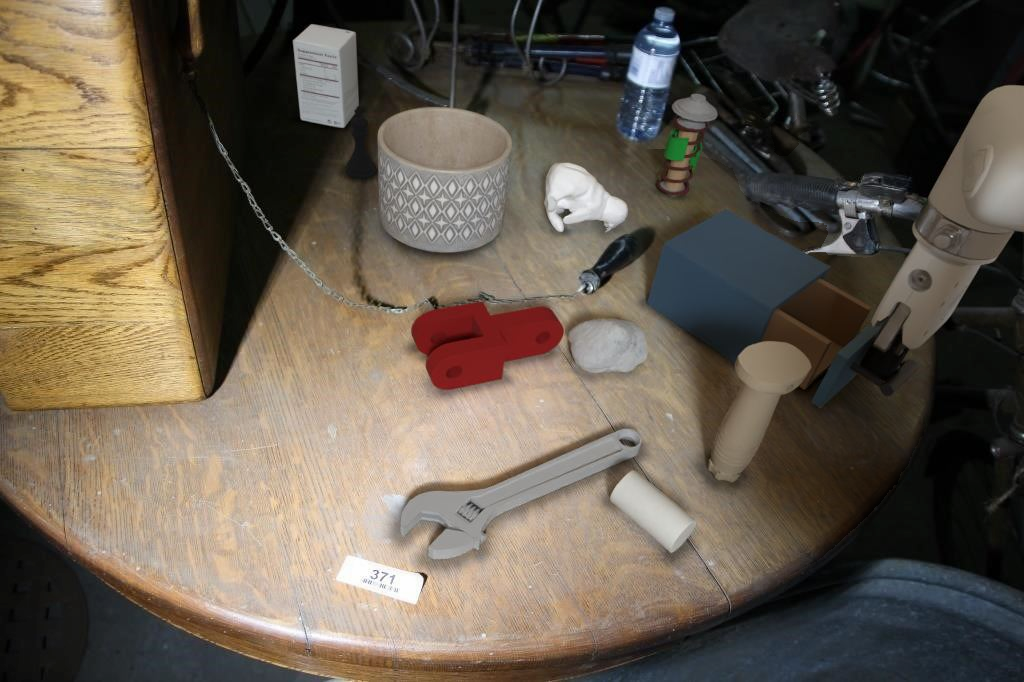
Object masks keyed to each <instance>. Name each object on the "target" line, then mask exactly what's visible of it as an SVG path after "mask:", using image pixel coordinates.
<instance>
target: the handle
mask: <svg viewBox="0 0 1024 682" xmlns="http://www.w3.org/2000/svg"><path fill="white" fill-rule="evenodd" d="M810 369H811V363H810V361H809V360H808V358H807V357H806V356H805V355H804V353H802V352H801V351H800V350H799V349H798V348H796V347H795V346H793V345H791V344H789V343H785V342H775V341H765V342H760V343H756V344H753V345H750V346H748V347H747V348H745V349H744V350H743V351H742V352H741V353H740V355H739V356H738V358H737V360H736V363H734V371H735V373H736V375H737V376H738V378H739V379H740V380H741V381H742V382H743V383H742V384H741V386H740V388H739V390H738V391H737V394H736V395H735V398H734V399H733V401H732V403H731V405H730V406H729V409H728V411H726V414H725V415H724V417H723V419H722V421H721V423H720V425H719V428H718V430H717V433H716V435H715V439H714V441H713V445H712V449H711V454H710V455H711V457H710V458H709V460H708V464H707V469H708V472H711V473H712V475H713V476H714V479H715V480H717V481H727V482H729V483H734V482H736V481H737V480H738V479H739V477H740V476H741V473H742V472H743V471H744V470H745V469H746V468H747V467H748V466H749V464H750V463H751V461H752V460H753V458H754V456H755V455H756V453H757V452H758V449H759V448H760V446H761V443H762V442H763V440H764V438H765V435H766V432H767V430H768V427H769V426H770V422H771V420H772V418H773V415H774V412H775V410H776V407H777V405H778V402H779V400H780V398H781V396H782V395H786V394H789V393H791V392H793V391H794V390H795V389H796V388H799V385H800V384H801V383H802V382H803V380H804V379H805V378H806V376H807V375H808V373H809V371H810Z"/></svg>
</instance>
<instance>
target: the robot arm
mask: <svg viewBox="0 0 1024 682" xmlns="http://www.w3.org/2000/svg"><path fill="white" fill-rule="evenodd" d="M911 231H912V234H913V236H914V237H915V239H916V241H915V243H914V245H913V247H912V249H911V250H910V252H909V253H908V255H907V256H906V257H905V259H904V261H903V262H902V265H901V266H900V267H899V270H898V271H897V273H896V274H895V276H894V278H893V279H892V281H891V283H890V285H889V286H888V288H887V290H886V292H885V293H884V295H883V297H882V298H881V300H880V302H879V305H878V306H877V307H876V310H875V312H874V314H873V316H872V318H871V321H870V323H872V326H873V328H876V327H879V326H880V325H881V324H882V323H883V322H884V323H883V324H882V326H881V328H880V330H879V332H878V334H877V336H876V337H875V338H874V340H873V342H872V343H871V345H870V347H869V349H868V350H867V352H866V354H865V355H864V357H863V359H862V361H861V362H860V366H861V367H863V368H864V369H866V370H868V371H869V372H871V373H873V374H874V375H876V376H877V377H879V378H881V379H882V380H884V382H885V381H886V380H887V379H888V378H889V377H890V376H891V375H892V374H893V373H894V372H895V371H896V370H897V369H898V368H899V367H900V366H899V365H900V364H901V362H902V361H903V359H904V360H905V357H906V356H907V355H908V353H909V351H910V350H916V349H919V348H920V347H921V346H923V345H924V344H925V343H926V342H927V341H928V340H929V339H930V338H931V337H932V336H933V335H934V334H935V333H937V331H939V329H940V328H942V326H943V325H944V324H946V322H947V321H948V320H949V318H950V317H951V316H952V315H953V314H954V312H955V310H956V308H957V306H958V305H959V303H960V301H961V300H962V298H963V296H964V294H966V291H967V290H968V288H969V286H970V285H971V283H972V281H973V280H974V278H975V276H976V274H977V273H978V271H979V269H980V268H981V266H984V265H989V264H991V263H993V262H995V261H996V260H997V259H998V257H999V255H1000V254H1001V252H1002V251H1003V250H1004V249H1005V246H1006V245H1007V243H1008V242H1009V240H1010V239H1011V237H1012V236H1013V234H1014V233H1015V232H1021V233H1024V85H1017V84H1008V85H1007V84H1006V85H1003V86H999V87H996V88H994V89H992V90H990V91H988V92H987V94H986V95H985V96H984V97H983V98H982V99H981V100H980V102H979V104H978V106H976V108H975V110H974V112H973V114H972V116H971V118H970V119H969V121H968V124H967V125H966V127H965V129H964V131H963V133H962V134H961V136H960V138H959V139H958V142H957V144H956V145H955V147H954V148H953V150H952V152H951V154H950V155H949V158H948V160H947V161H946V163H945V165H944V167H943V169H942V171H941V172H940V174H939V176H938V178H937V180H936V181H935V183H934V185H933V187H932V189H931V190H930V193H929V195H928V196H927V198H926V200H925V201H924V203H923V205H922V207H921V208H920V211H919V212H918V214H917V216H916V218H915V220H914V222H913V224H912V225H911Z"/></svg>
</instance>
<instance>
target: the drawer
mask: <svg viewBox="0 0 1024 682" xmlns="http://www.w3.org/2000/svg"><path fill="white" fill-rule="evenodd" d="M872 309H873V307H872V306H870V305H868V304H867V303H865V302H864V301H861V300H860V299H859V298H856V297H854V296H852V295H851V294H849V293H848V292H846V291H844V290H842V289H840V288H839V287H837V286H835V285H833V284H831V283H830V282H828V281H826V280H825V279H824V280H823V279H821V278H819V279H818V280H817V281H815V282H814V283H812V284H811V285H810V286H808V287H807V288H806V289H804V290H803V291H802V292H800V293H799V294H797V295H796V296H795V297H793V298H792V299H791V300H789V301H788V302H786V303H785V304H784V305H782V306H781V307H780V308H778V309H777V310H775V311H774V312H773V315H772V317H771V319H770V321H769V324H768V326H767V328H766V330H765V333H764V335H763V337H762V340H761V342H765V341H775V342H785V343H789V344H791V345H793V346H795V347H796V348H798V349H799V350H800V351H801V352H802V353H804V355H805V356H806V357H807V358H808V360H809V361H810V363H811V369H810V371H809V373H808V375H807V376H806V378H805V379H804V380H803V382H802V383H801V384H800V385H799V386H798V388H799V387H800V388H801V389H802V390H807V388H808V387H810V385H812V384H813V383H814V382H815V381H816V380H817V379H818V378H820V377H821V376H822V375H823V374H824V373H825V372H826V373H825V375H824V377H823V378H822V380H821V382H820V384H819V385H818V388H817V390H816V391H815V393H814V395H813V397H812V399H811V402H810V403H812V404H813V405H815V406H817V407H818V408H820V409H821V408H822V407H823V406H824V405H826V403H828V402H829V401H830V400H831V399H832V398H833V397H834V396H836V394H837V393H839V392H840V391H841V390H842V389H843V388H844V387H845V386H846V385H847V384H849V382H851V380H853V379H854V378H855V377H856V376H857V375H860V376H861V377H862V378H864V379H866V380H867V381H869V382H871V383H872V384H874V385H875V386H877V387H879V391H880V393H881V394H882V395H884V396H885V397H891V396H893V395H894V394H895V393H896V392H897V391H898V389H900V388H901V387H902V386H903V385H904V383H906V382H907V381H908V380H909V378H911V376H912V375H913V374H914V373H916V372H917V370H918V369H919V365H918V363H917V361H915V360H914V359H907V360H905V358H904V359H903V361H902V362H901V364H900V365H899V367H898V369H897V370H896V371H895V372H894V373H893V374H892V375H891V376H890V377H889V378H888V379H887V380H886V381H884V380H882V379H881V378H879V377H877V376H876V375H874V374H873V373H871V372H869V371H868V370H866V369H864V368H863V367H861V366H860V362H861V361H862V359H863V357H864V355H865V354H866V352H867V350H868V349H869V347H870V345H871V343H872V342H873V340H874V338H875V337H876V336H877V334H878V332H879V330H880V328H881V326H882V324H883V323H884V322H883V323H882V324H881V325H880V326H879V327H876V328H873V326H872V322H870V324H869V325H868V326H867V327H865V328H864V329H863V330H862V331H861V329H862V327H863V325H864V324H865V321H866V320H867V319H868V316H869V314H870V313H871V311H872ZM860 331H861V332H860ZM859 332H860V333H859Z"/></svg>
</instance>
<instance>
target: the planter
mask: <svg viewBox="0 0 1024 682" xmlns="http://www.w3.org/2000/svg"><path fill="white" fill-rule="evenodd" d="M512 149H513V140H512V137H511V134H510V133H509V131H507V129H506V128H505V127H504V126H502V125H501V124H500V123H499V122H497V121H495V120H494V119H492V118H490V117H488V116H485V115H483V114H480V113H477V112H474V111H470V110H466V109H463V108H457V107H456V108H455V107H448V106H426V107H425V106H424V107H418V108H411V109H408V110H404V111H400V112H398V113H396V114H394V115H392V116H390V117H389V118H387V119H386V120H384V122H382V124H381V125H380V126H379V129H378V131H377V168H378V169H377V171H378V174H377V177H378V214H379V216H378V218H379V221H380V224H381V226H382V228H383V229H384V230H385V232H387V234H388V235H390V236H391V237H392V238H394V239H395V240H397V241H399V242H400V243H402V244H404V245H406V246H409V247H411V248H415V249H418V250H422V251H426V252H431V253H439V254H441V253H443V254H444V253H461V252H466V251H471V250H474V249H478V248H481V247H482V246H484V245H487V244H489V243H491V242H492V241H493V240H494V239H496V237H498V235H499V234H500V233H501V231H502V230H503V226H504V221H505V212H506V204H507V203H506V202H507V195H508V185H509V176H510V167H511V159H512V151H513V150H512Z"/></svg>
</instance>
